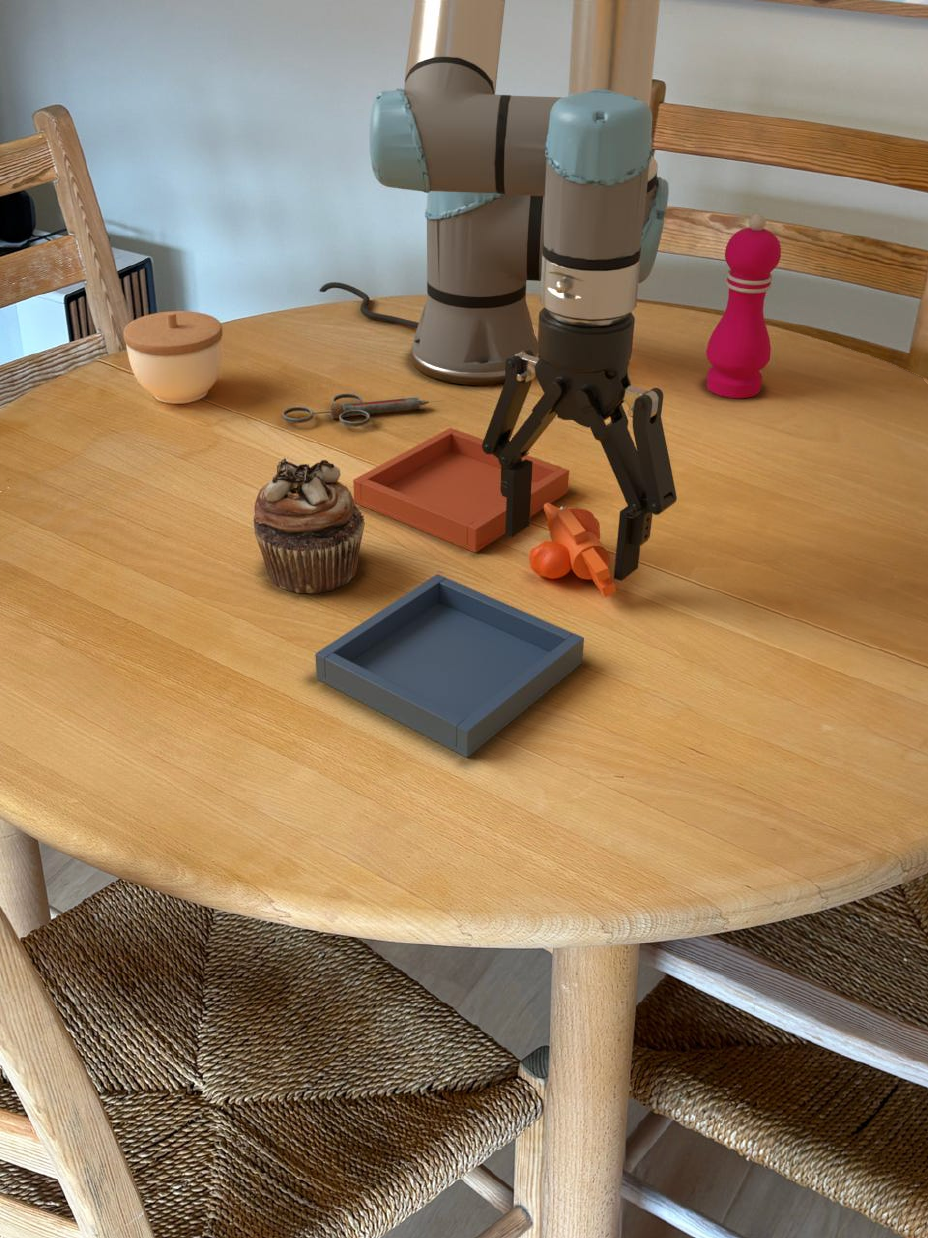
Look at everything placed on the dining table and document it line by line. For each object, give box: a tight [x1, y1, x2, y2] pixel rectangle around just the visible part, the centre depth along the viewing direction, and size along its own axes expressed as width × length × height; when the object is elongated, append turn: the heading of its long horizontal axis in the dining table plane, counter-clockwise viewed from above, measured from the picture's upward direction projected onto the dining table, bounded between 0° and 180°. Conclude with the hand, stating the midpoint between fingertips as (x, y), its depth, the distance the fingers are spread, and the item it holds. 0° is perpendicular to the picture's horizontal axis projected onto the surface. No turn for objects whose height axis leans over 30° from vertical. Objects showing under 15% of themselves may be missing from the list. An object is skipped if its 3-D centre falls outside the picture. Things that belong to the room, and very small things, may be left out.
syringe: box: [282, 392, 444, 428], centre depth 137 cm, size 8×18×2 cm, turn 105°
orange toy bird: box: [529, 503, 617, 598], centre depth 110 cm, size 5×8×12 cm
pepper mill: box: [705, 214, 782, 399], centre depth 139 cm, size 7×7×20 cm
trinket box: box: [122, 310, 224, 405], centre depth 139 cm, size 11×11×9 cm
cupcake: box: [253, 457, 365, 595], centre depth 108 cm, size 10×10×10 cm
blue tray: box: [314, 573, 585, 759], centre depth 98 cm, size 15×15×2 cm
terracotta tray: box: [352, 427, 570, 554], centre depth 122 cm, size 15×15×2 cm
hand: (570, 551), depth 110 cm, fingers open, 11 cm apart
